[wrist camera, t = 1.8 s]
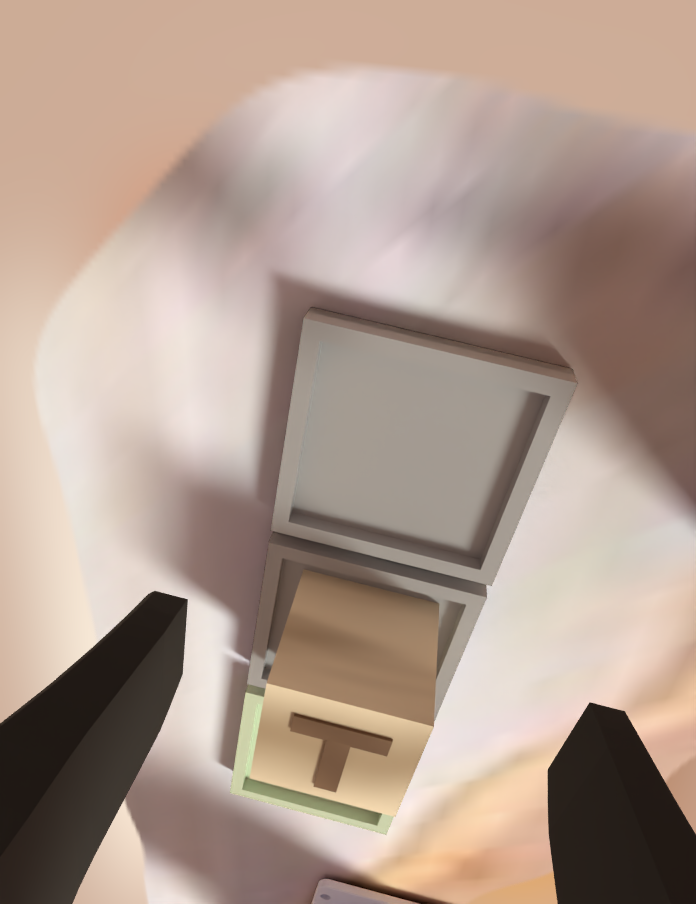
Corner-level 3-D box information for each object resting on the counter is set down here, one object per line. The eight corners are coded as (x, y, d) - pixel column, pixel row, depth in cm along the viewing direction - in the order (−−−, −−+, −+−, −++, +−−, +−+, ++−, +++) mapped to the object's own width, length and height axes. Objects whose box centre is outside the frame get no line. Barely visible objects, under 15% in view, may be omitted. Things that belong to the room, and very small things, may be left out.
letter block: (406, 693, 23) (394, 821, 19) (284, 662, 23) (248, 782, 19) (439, 603, 21) (433, 729, 17) (303, 569, 21) (265, 685, 17)
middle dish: (431, 710, 24) (429, 731, 23) (253, 664, 24) (246, 683, 24) (486, 578, 20) (486, 597, 20) (275, 525, 21) (268, 542, 20)
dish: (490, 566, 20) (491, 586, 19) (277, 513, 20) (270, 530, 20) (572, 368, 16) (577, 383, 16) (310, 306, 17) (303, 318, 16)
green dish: (388, 814, 28) (385, 834, 27) (236, 773, 28) (230, 792, 28) (427, 718, 24) (426, 739, 24) (252, 673, 25) (245, 692, 24)
